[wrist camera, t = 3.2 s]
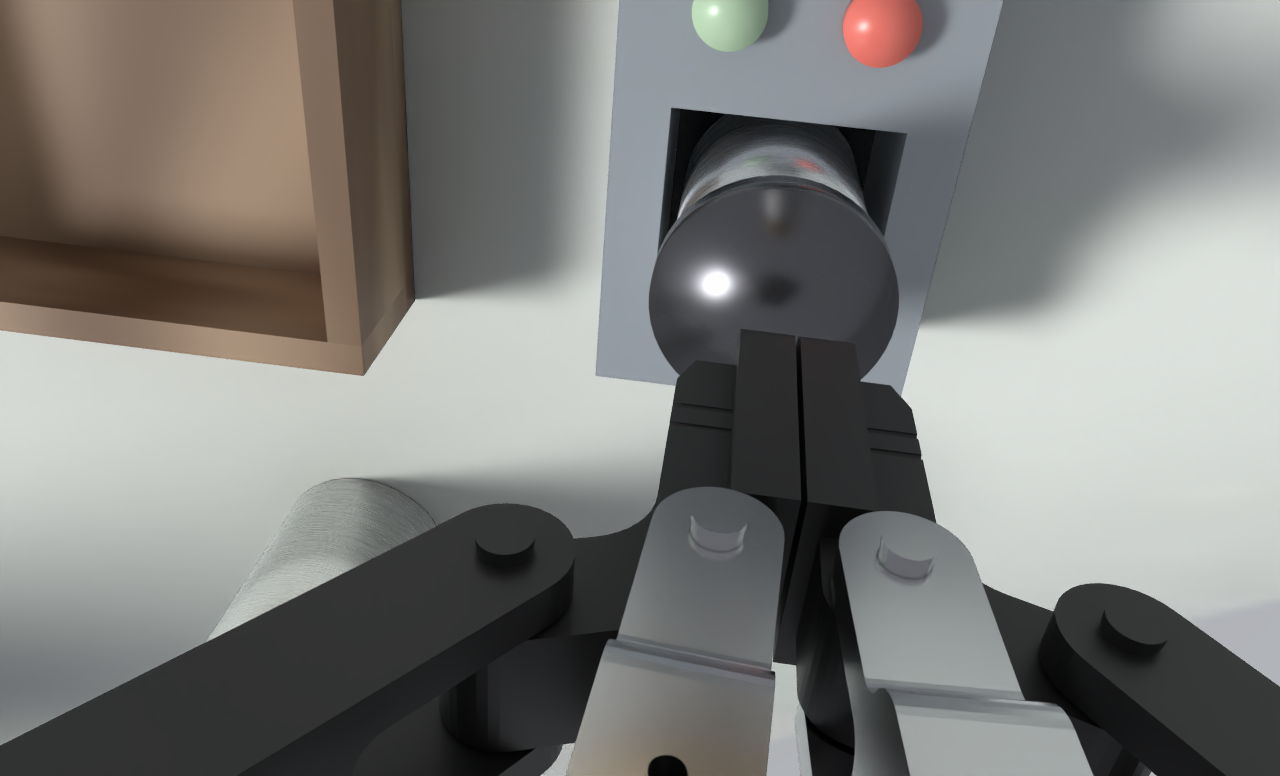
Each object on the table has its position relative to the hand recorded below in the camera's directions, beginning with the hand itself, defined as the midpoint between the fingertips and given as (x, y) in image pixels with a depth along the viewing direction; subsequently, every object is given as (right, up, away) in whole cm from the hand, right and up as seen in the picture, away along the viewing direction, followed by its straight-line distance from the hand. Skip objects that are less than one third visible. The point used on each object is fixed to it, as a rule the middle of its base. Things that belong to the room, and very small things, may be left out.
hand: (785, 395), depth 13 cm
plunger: (+1, +4, +7) cm, 8 cm away
